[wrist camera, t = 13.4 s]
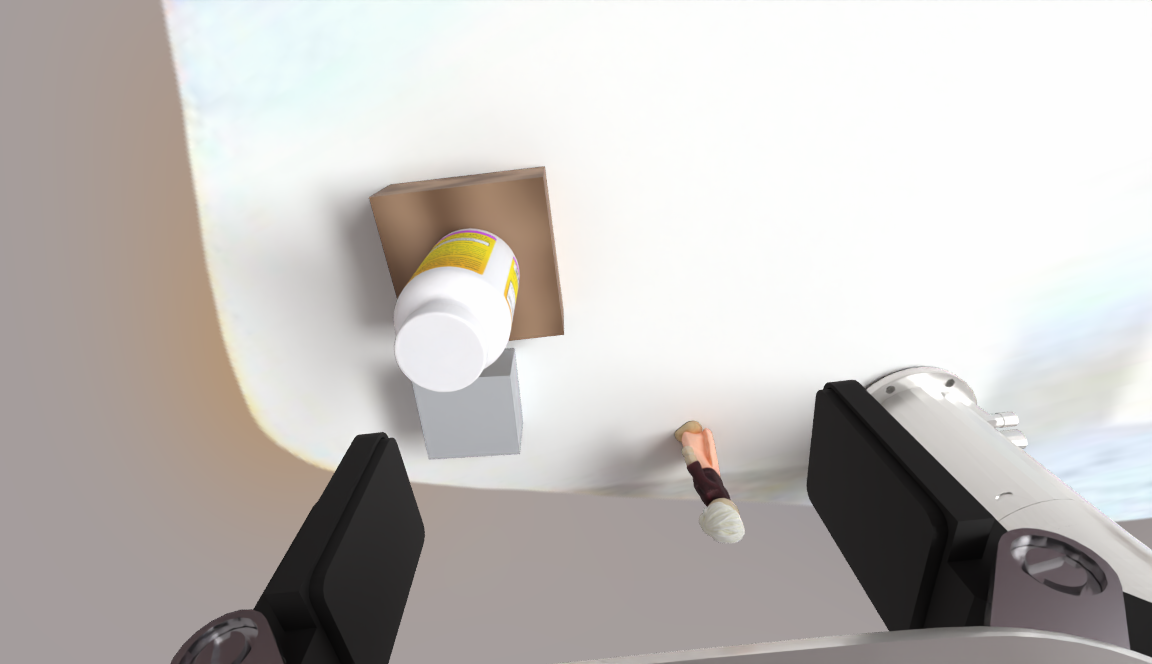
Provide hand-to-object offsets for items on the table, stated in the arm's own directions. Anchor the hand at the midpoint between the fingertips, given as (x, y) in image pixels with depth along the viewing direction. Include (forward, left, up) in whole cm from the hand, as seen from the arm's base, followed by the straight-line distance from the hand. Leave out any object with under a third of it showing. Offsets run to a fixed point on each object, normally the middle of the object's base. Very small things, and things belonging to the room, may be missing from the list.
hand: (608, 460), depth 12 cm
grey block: (+11, +17, -32) cm, 38 cm away
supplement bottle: (+8, +4, -27) cm, 29 cm away
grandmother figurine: (-9, +25, -32) cm, 42 cm away
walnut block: (+8, +4, -32) cm, 33 cm away
